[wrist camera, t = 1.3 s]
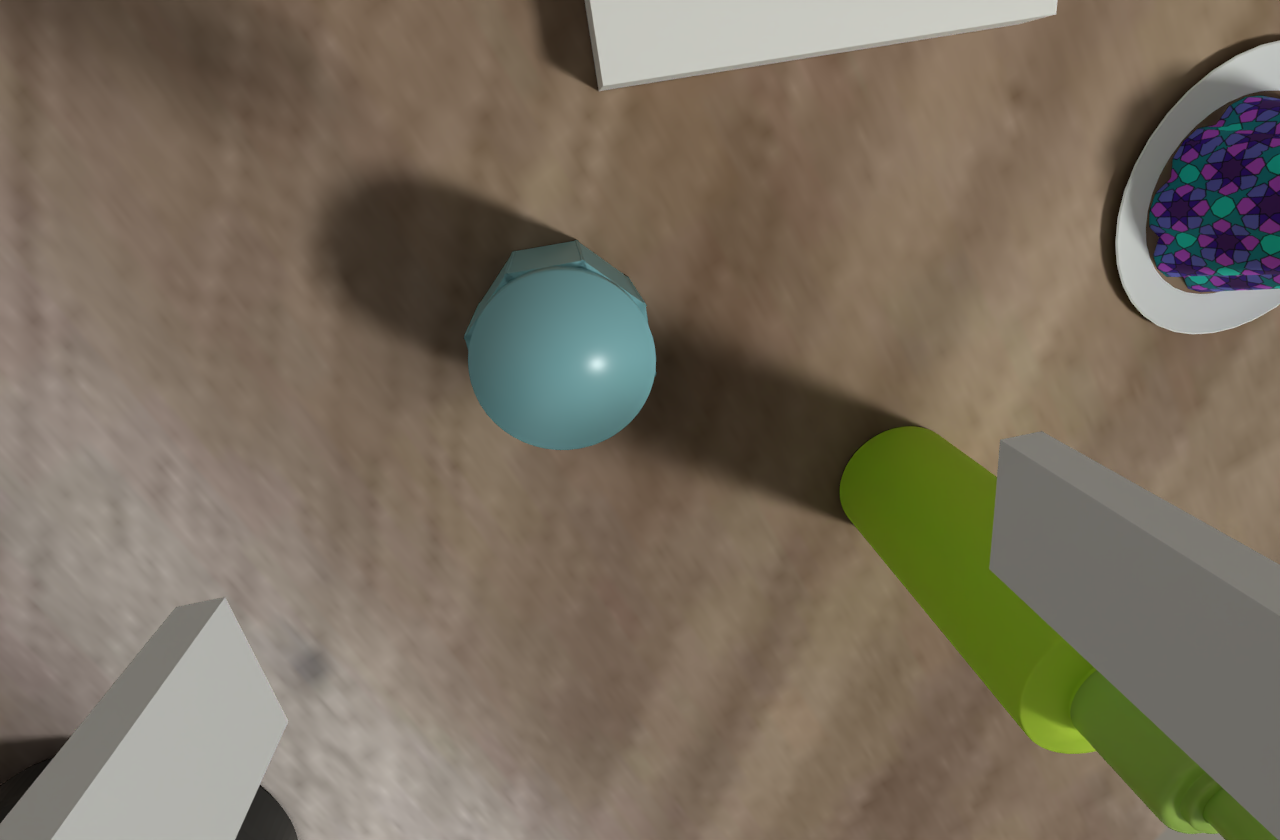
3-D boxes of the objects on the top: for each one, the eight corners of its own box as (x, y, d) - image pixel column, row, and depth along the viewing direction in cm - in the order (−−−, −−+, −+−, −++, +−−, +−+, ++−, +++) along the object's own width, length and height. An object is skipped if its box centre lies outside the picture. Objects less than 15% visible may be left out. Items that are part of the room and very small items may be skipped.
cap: (503, 402, 27) (492, 466, 22) (466, 258, 25) (443, 288, 19) (644, 376, 28) (668, 432, 22) (621, 231, 25) (642, 253, 20)
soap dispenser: (801, 477, 31) (1179, 962, 12) (931, 403, 30) (1533, 798, 12) (846, 561, 33) (1221, 1075, 15) (968, 495, 32) (1518, 943, 14)
